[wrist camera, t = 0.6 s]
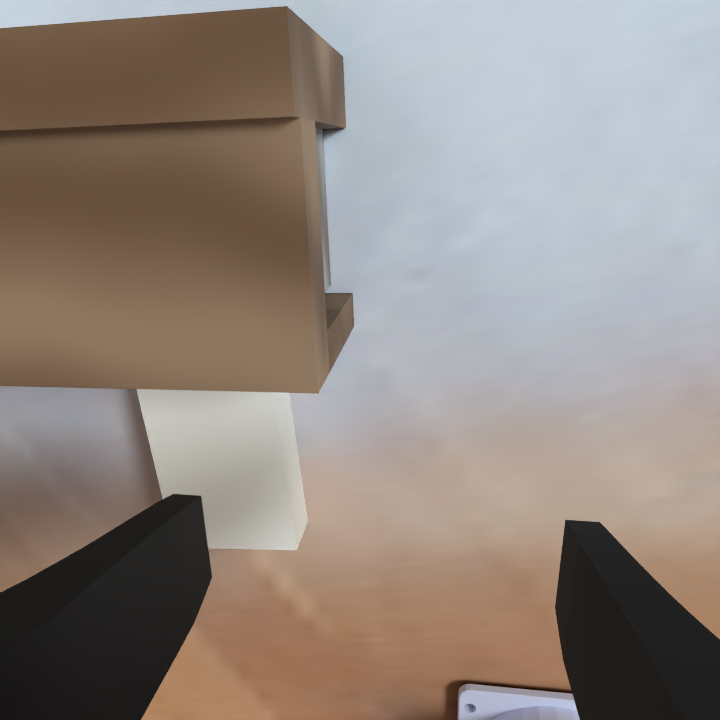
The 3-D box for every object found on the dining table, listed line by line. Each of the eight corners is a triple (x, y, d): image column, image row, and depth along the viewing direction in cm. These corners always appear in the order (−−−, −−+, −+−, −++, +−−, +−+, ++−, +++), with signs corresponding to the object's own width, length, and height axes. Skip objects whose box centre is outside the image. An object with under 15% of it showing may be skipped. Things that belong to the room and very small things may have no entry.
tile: (309, 515, 24) (296, 550, 22) (197, 514, 25) (174, 547, 23) (280, 305, 21) (261, 322, 19) (153, 312, 22) (121, 329, 20)
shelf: (354, 326, 20) (313, 401, 14) (93, 324, 22) (-45, 391, 16) (342, 56, 17) (286, 6, 11) (42, 75, 19) (-150, 39, 13)
